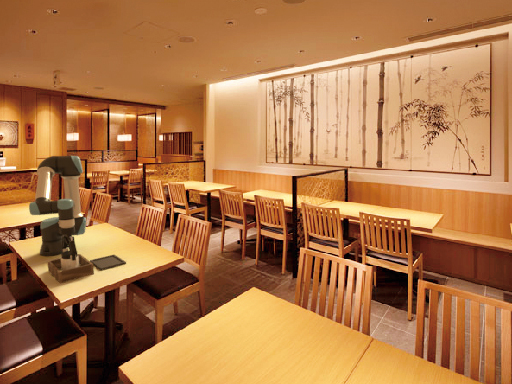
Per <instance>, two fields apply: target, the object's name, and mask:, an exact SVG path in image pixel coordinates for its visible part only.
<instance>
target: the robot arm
mask: <svg viewBox="0 0 512 384" xmlns="http://www.w3.org/2000/svg"><path fill="white" fill-rule="evenodd" d="M83 173H84V170H83V165H82V161H81V158H80V157H79V156H78V155H52V156H49V157H46V158H44V159H43V160H42V161H41V162H40V163H39V165H38V167H37V170H36V174H37V183H36V190H35V197H34V198H35V199H34V201H31V202H30V203H29V205H28V210H29V214H30V215H32V216H44V215H56V214H58V216H56V217H55V216H54V217H49V218H46V219H43V220H41V222H40V232H41V234H40V235H41V245H40V249H39V254H40V256H43V257H52V256H58V255H61V253H63V252H65V251H70V253H71V254H70V260H71V266H75V265H77V262H76V254H78V250H77V246H76V242H75V237H74V236H80V235H84V234H85V233H86V225H87V217H85V216H84V214H83V213H82V209H81V208H82V207H81V197H80V195H81V194H80V186H79V185H80V182H79V181H80V180H79V178H80V177H81V176H82V175H81V174H83ZM57 174H58V175H59V174H60V177H61V178H62V179H63V188H64V198H61V199H58V200H51V199H52V187H53V178H54V176H55V175H57Z"/></svg>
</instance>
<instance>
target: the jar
mask: <svg viewBox="0 0 512 384" xmlns="http://www.w3.org/2000/svg"><path fill="white" fill-rule="evenodd" d="M70 254H71V253H70V250H68V251H65V252H63V253H61V254H60V258H61V271H64V270H68V269H72V268H76V267H80V264H79V256H78V253H77V254H76V262H77V265H75V266H71V260H70Z"/></svg>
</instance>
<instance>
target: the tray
mask: <svg viewBox="0 0 512 384" xmlns="http://www.w3.org/2000/svg"><path fill="white" fill-rule="evenodd" d="M89 261H90V262H91V263H93V266H95V267H96V268H97V269H99V270H100V271H105V270H109V269H111V268H115V267H116V268H117V267H119V266H123V265H126V264H127V261H125V260H124V259H122V258H120V257H119V256H118V255H116V254H111V255H107V256H102V257H98V258H94V259H89Z"/></svg>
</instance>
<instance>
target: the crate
mask: <svg viewBox="0 0 512 384" xmlns="http://www.w3.org/2000/svg"><path fill="white" fill-rule="evenodd" d="M77 254H78V253H77ZM78 256H79V267H76V268H72V269H68V270H64V271H62V269H61V257H58V258H56V259H50V260H47V270H48V272H49V273H50V274H51V276H52V277H53V278H54V279H55V280H56V281H57V282H58V284H61V283H65V282H68V281H72V280H77V279H80V278H84V277H88V276H90V275H94V274H95V269H94V265H93V263H91V262H90V259H87V258H86V257H85V256H83V254H80V253H79V254H78ZM60 269H61V270H60Z"/></svg>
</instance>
